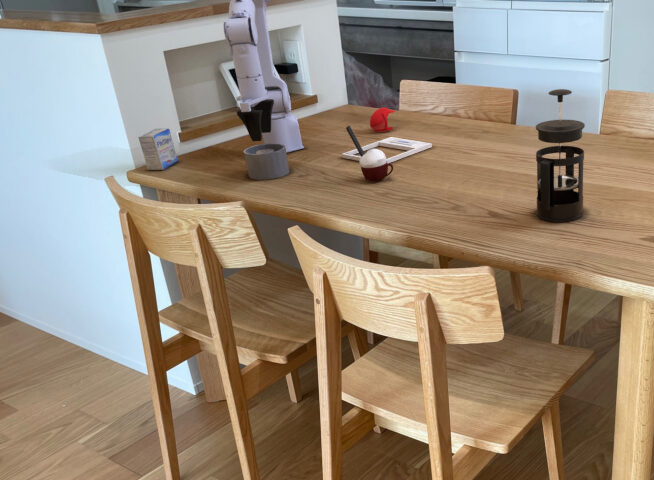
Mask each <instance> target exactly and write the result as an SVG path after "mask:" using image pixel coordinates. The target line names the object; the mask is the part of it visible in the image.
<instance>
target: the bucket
mask: <svg viewBox="0 0 654 480" xmlns="http://www.w3.org/2000/svg"><path fill="white" fill-rule="evenodd" d="M263 149H273V150H274V152H271V153H265V154H256V152H257V151H259V150H263ZM287 153H288V152H287ZM287 153H286V148H285V146H284V145H283V144H277V143H269V144H264V143H261V144H256V145H252V146H248V147H247V148H245V149H244V150H243V157H244V161H245V165H246V166H245V167H246V169H247V174H248V177H249V178H250V179H251V180H257V181H266V180H275V179H279V178H282V177H284V176H287V175H289V174H290V171H291V170H290V165H289V158H288V154H287Z"/></svg>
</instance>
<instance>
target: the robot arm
mask: <svg viewBox="0 0 654 480" xmlns="http://www.w3.org/2000/svg"><path fill="white" fill-rule="evenodd" d="M271 1H272V0H230V1H229V6H228V17H227V19H226V21H223V25H222V27H223V34H224V38H225V41H226V44H227V47H228V51H229V54H230V55H229V56H231V57H232V61H233V66H234V71H235V75H236V80H237V85H238V90H239V94H240V95H238V96H236V97H235V99H236V101H237V102H239V107H240V109H237V110H236V115H237V117H238V118H239V119H240V121H241V122H242V123H243V125H244V127H245V129H246V131H247V133H248V135H249V137H250V139H251V141H252V142H261V141H262V140H263V144H269V143H277V144H283V145H284V146H285V148H286V153H291V152H295V151H298V150H302V149H304V148H305V146H304V145H303V141H302V134H301V130H300V125H299V121H298V118H297V116H296V115H295V114H294V113H292V112H291V111H292V102H291V96H290V92H289V89H288V84H287V83H286V81H284V80H283V79H282V78H280V77H278V76H277V75H276V74H275V67H274V62H273V61H274V59H273V54H272V53H273V52H272V46H271V41H270V39H271V38H270V33H269V26H268V19H267V4H269V3H271Z"/></svg>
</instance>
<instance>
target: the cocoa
mask: <svg viewBox="0 0 654 480" xmlns="http://www.w3.org/2000/svg"><path fill="white" fill-rule="evenodd" d="M345 129H346V131H347V133H348V136H349V137H350V139H351V141H352V143H353V144H354V146H355V149H357V150H358V152H359V153H358V154H359V156H361V158H360V161H358V162H359V167H360V169H361V170H360V171H361V173H362V176H363V177H364V178H365V180H367V181H369V182H375V183H376V182H379V181H382V180H385V178H387V177H388V176H390V175H391V174H392V172H393V171H394V165H393V164H392V163H388V164H387V160H386V159H387V156H386V153H385V152H383V150H380V149H378V148H371V149H368V150H366V153H365V151H363V150H362V148H361V147H362V146H361V144H360V142H359V140H358V138H357V137H356V135H355V133H354V131H353V128H352V127H351V125H347V126H346V127H345ZM389 167H390V171H389Z"/></svg>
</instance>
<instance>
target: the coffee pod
mask: <svg viewBox="0 0 654 480" xmlns="http://www.w3.org/2000/svg"><path fill="white" fill-rule="evenodd" d="M271 152H274V150H273V149H263V150H259V151H257V152H256V154H265V153H271Z"/></svg>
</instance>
